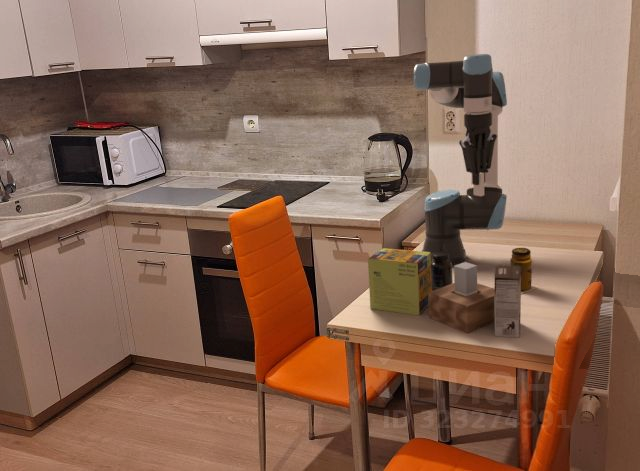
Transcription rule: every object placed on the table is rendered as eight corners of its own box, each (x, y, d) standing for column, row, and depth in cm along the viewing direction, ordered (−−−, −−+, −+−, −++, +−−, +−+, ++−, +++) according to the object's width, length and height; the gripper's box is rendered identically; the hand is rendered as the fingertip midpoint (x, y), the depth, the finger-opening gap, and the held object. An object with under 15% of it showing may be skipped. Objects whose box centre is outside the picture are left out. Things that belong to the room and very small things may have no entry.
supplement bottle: (435, 285, 207) (434, 248, 203) (456, 288, 203) (455, 251, 200) (425, 293, 201) (424, 255, 198) (446, 296, 198) (445, 258, 194)
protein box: (420, 316, 186) (418, 263, 181) (369, 309, 193) (366, 258, 189) (433, 302, 194) (431, 251, 190) (384, 296, 202) (381, 247, 197)
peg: (466, 318, 179) (465, 269, 175) (455, 314, 182) (454, 265, 178) (477, 314, 181) (477, 265, 177) (465, 310, 184) (465, 262, 181)
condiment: (537, 288, 199) (538, 249, 195) (518, 295, 194) (518, 256, 191) (518, 282, 204) (518, 244, 201) (499, 289, 200) (499, 251, 197)
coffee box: (495, 322, 178) (495, 264, 173) (520, 323, 176) (521, 265, 172) (493, 336, 170) (493, 276, 165) (520, 338, 168) (520, 277, 163)
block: (429, 317, 184) (428, 292, 182) (465, 303, 191) (464, 279, 189) (467, 333, 173) (467, 306, 170) (503, 317, 180) (503, 291, 178)
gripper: (471, 116, 178) (472, 202, 185) (504, 109, 185) (504, 192, 192) (451, 114, 184) (453, 197, 191) (483, 108, 191) (484, 188, 198)
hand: (478, 195), depth 192 cm, fingers closed
